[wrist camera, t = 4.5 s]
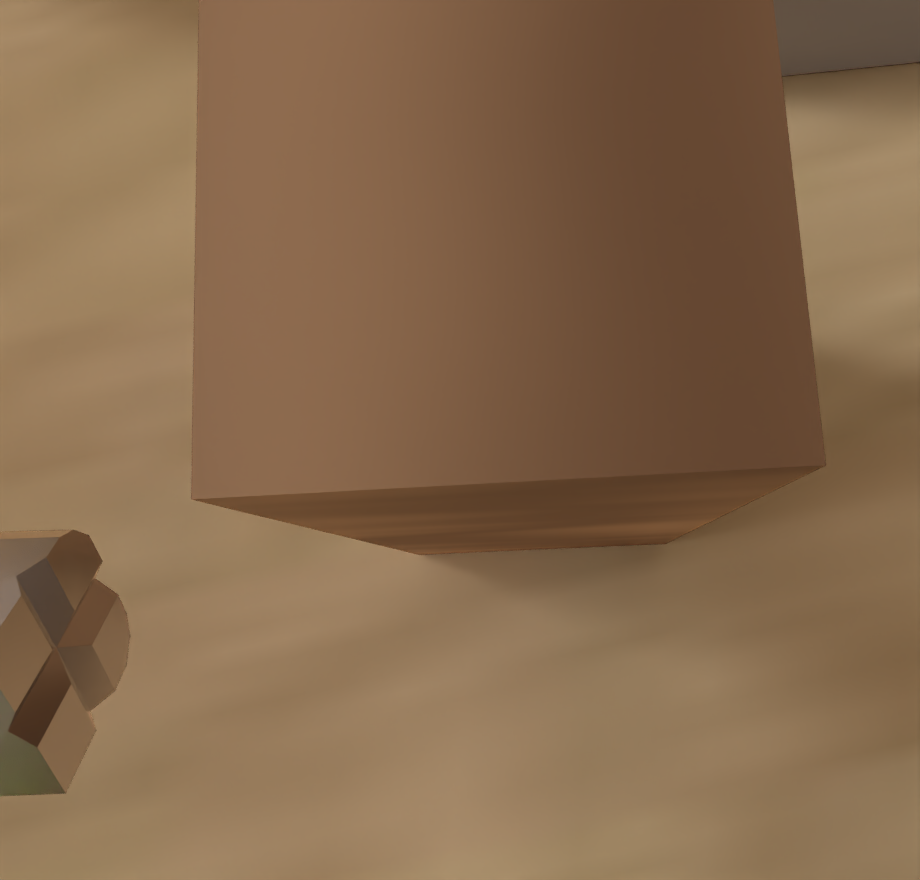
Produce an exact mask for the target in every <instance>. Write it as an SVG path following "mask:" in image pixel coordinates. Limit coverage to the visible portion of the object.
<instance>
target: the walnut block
mask: <svg viewBox="0 0 920 880" xmlns="http://www.w3.org/2000/svg"><path fill="white" fill-rule="evenodd" d="M825 465H826V462H825V453H824V444H823V436H822V427H821V418H820V409H819V400H818V391H817V383H816V374H815V365H814V356H813V347H812V339H811V330H810V321H809V312H808V303H807V294H806V286H805V277H804V268H803V259H802V250H801V241H800V233H799V224H798V215H797V206H796V197H795V188H794V180H793V171H792V162H791V153H790V144H789V135H788V127H787V118H786V109H785V100H784V91H783V82H782V74H781V65H780V56H779V47H778V38H777V29H776V21H775V12H774V3H773V0H199V31H198V95H197V159H196V224H195V288H194V353H193V417H192V481H191V499H192V500H196V501H200V502H204V503H208V504H212V505H217V506H221V507H225V508H229V509H233V510H237V511H241V512H245V513H249V514H254V515H258V516H262V517H266V518H270V519H274V520H278V521H282V522H286V523H291V524H295V525H299V526H303V527H307V528H311V529H315V530H319V531H323V532H328V533H332V534H336V535H340V536H344V537H348V538H352V539H356V540H361V541H365V542H369V543H373V544H377V545H381V546H385V547H389V548H393V549H398V550H402V551H406V552H410V553H414V554H418V555H424V554H446V553H469V552H491V551H513V550H536V549H558V548H581V547H603V546H625V545H648V544H666V543H668V542H670V541H672V540H674V539H676V538H678V537H680V536H682V535H684V534H687V533H689V532H691V531H693V530H695V529H697V528H699V527H701V526H703V525H705V524H707V523H709V522H711V521H713V520H715V519H717V518H719V517H721V516H723V515H725V514H727V513H729V512H731V511H734V510H736V509H738V508H740V507H742V506H744V505H746V504H748V503H750V502H752V501H754V500H756V499H758V498H760V497H762V496H764V495H766V494H768V493H770V492H772V491H774V490H776V489H778V488H781V487H783V486H785V485H787V484H789V483H791V482H793V481H795V480H797V479H799V478H801V477H803V476H805V475H807V474H809V473H811V472H813V471H815V470H817V469H819V468H821V467H823V466H825Z"/></svg>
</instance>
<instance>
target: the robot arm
mask: <svg viewBox="0 0 920 880" xmlns="http://www.w3.org/2000/svg"><path fill="white" fill-rule="evenodd" d="M101 564H102V559H101V557H100V556H99V554H98V552H97V550H96V548H95V546H94V544H93V542H92V540H91V539H90V537H89V535H87V534H84V533H81V532H78V531H75V530H47V531H5V532H0V796H15V795H41V794H66V792H67V790H68V788H69V786H70V784H71V782H72V780H73V778H74V776H75V774H76V772H77V769H78V767H79V765H80V763H81V761H82V759H83V757H84V755H85V753H86V751H87V749H88V747H89V745H90V743H91V740H92V738H93V736H94V734H95V732H96V728H95V724H94V721H93V718H92V715H91V710H92V709H93V708H95V707H96V706H97V705H98V704H99V703H101V702H102V701H103V700H104V699H106V698H107V697H108V696H109V695H111V694H112V693H113V692H114V691H115V690H116V688H117V686H118V683H119V681H120V679H121V677H122V674H123V672H124V670H125V668H126V665H127V658H128V650H129V643H130V630H129V624H128V619H127V613H126V611H125V609H124V606H123V604H122V602H121V600H120V598H119V595H118V594H116V593H115V592H114V591H112V590H111V589H109V588H108V587H107V586H105V585H104V584H102V583H101V582H100V581H98V580H97V579H95V578H96V576H97V573H98V571H99V568H100V566H101Z"/></svg>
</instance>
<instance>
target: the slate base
mask: <svg viewBox="0 0 920 880" xmlns="http://www.w3.org/2000/svg"><path fill="white" fill-rule="evenodd" d="M773 3H774V12H775V21H776V29H777V38H778V47H779V56H780V65H781V74H782V76H788V75H798V74H808V73H817V72H827V71H837V70H847V69H856V68H866V67H876V66H885V65H895V64H905V63H914V62H920V0H773Z"/></svg>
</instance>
